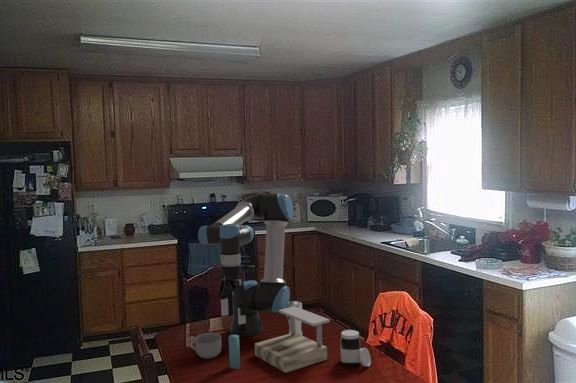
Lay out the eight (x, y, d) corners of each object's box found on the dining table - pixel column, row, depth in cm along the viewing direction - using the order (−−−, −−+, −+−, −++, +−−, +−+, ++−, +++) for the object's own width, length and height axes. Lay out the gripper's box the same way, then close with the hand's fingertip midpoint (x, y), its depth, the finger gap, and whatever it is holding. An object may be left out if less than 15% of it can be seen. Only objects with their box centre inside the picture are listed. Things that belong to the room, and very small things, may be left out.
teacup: (226, 352, 207) (225, 333, 207) (214, 362, 197) (213, 342, 197) (197, 349, 212) (196, 331, 211) (183, 359, 202) (182, 339, 201)
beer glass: (301, 338, 220) (300, 305, 219) (286, 338, 221) (285, 305, 221) (304, 333, 227) (303, 301, 226) (289, 332, 228) (288, 300, 227)
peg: (228, 366, 192) (226, 336, 192) (237, 364, 195) (235, 333, 194) (232, 369, 189) (231, 339, 188) (242, 367, 191) (240, 336, 191)
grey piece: (279, 335, 211) (278, 309, 210) (295, 331, 215) (294, 306, 215) (314, 351, 191) (313, 323, 190) (330, 346, 195) (329, 319, 195)
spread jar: (340, 357, 197) (339, 328, 197) (368, 356, 197) (367, 328, 196) (342, 370, 185) (341, 339, 185) (372, 369, 185) (371, 338, 184)
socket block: (255, 355, 203) (254, 343, 203) (295, 343, 214) (294, 332, 214) (285, 372, 185) (284, 359, 184) (327, 359, 196) (326, 346, 196)
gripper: (207, 261, 198) (210, 313, 199) (238, 271, 177) (240, 329, 178) (224, 258, 202) (226, 310, 203) (256, 268, 182) (258, 325, 183)
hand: (233, 319), depth 191 cm, fingers open, 13 cm apart
